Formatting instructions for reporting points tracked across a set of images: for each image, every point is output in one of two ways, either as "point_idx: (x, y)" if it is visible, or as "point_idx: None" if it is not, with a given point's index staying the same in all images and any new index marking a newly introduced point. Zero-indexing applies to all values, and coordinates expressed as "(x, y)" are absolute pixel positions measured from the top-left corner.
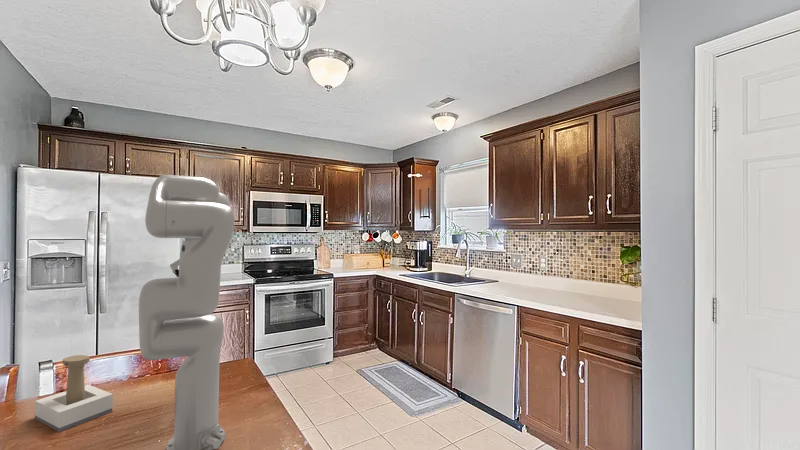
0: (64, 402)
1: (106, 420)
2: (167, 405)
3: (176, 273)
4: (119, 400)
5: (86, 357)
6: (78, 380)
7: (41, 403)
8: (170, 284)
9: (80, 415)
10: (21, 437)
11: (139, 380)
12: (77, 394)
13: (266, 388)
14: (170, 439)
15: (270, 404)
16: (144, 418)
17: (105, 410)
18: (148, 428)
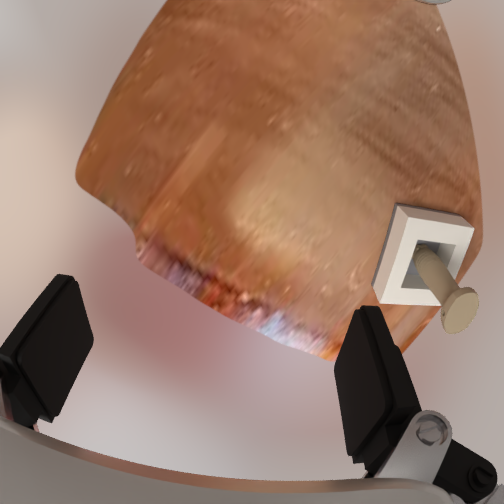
0: (418, 281)
1: (421, 179)
2: (344, 119)
3: (473, 461)
4: (356, 235)
5: (458, 301)
6: (448, 274)
7: None
8: None
9: (443, 216)
10: (472, 246)
11: (272, 288)
12: (438, 259)
13: None
14: (442, 2)
15: None
16: (399, 117)
17: (408, 207)
18: (421, 77)
